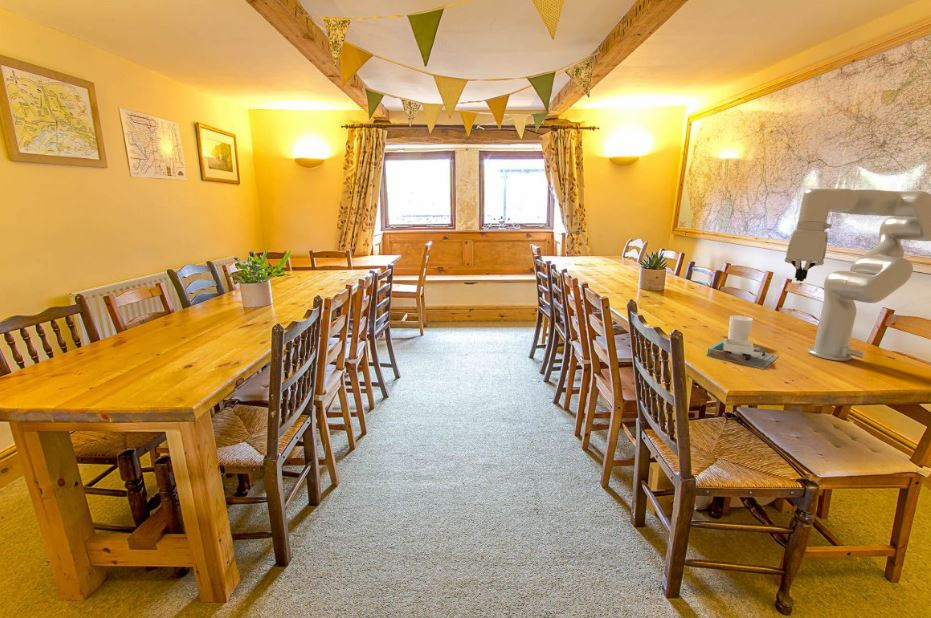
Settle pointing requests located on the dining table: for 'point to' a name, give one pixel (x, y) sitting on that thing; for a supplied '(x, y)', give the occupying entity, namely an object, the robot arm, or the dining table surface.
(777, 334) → the dining table surface
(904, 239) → the robot arm
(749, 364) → the dock
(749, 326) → the white cup
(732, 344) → the trolley
